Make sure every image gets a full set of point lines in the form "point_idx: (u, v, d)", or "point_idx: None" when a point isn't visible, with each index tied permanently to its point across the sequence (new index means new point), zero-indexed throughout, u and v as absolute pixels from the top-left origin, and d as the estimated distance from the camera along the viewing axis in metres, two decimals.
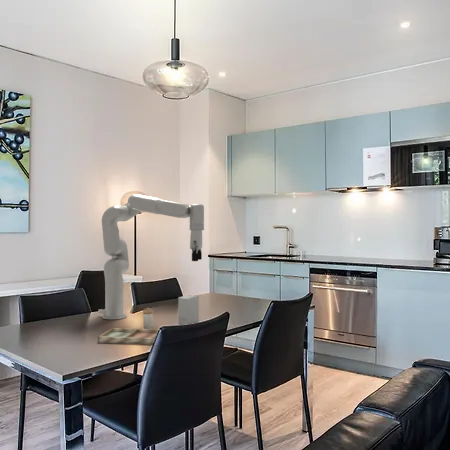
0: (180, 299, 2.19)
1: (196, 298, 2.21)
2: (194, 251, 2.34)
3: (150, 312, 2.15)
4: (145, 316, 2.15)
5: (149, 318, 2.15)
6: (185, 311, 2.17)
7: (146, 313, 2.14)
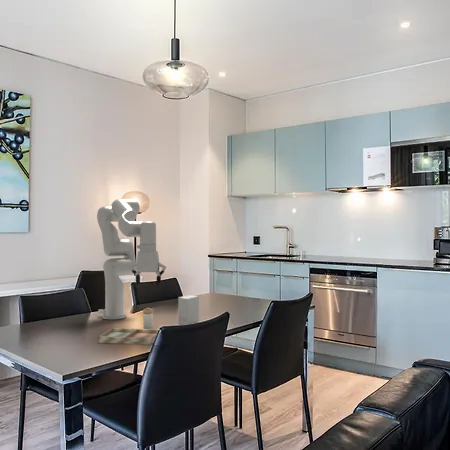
0: (180, 299, 2.19)
1: (196, 298, 2.21)
2: (162, 273, 2.15)
3: (150, 312, 2.15)
4: (145, 316, 2.15)
5: (149, 318, 2.15)
6: (185, 311, 2.17)
7: (146, 313, 2.14)
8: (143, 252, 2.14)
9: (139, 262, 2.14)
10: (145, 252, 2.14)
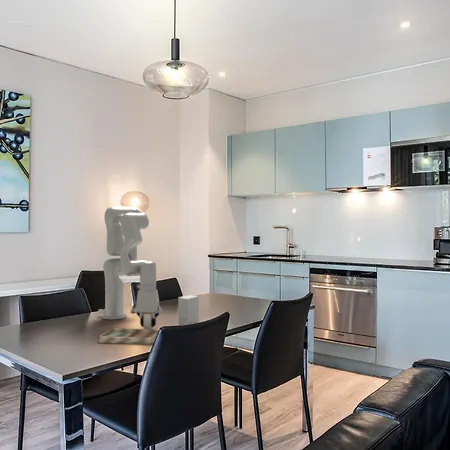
0: (180, 299, 2.19)
1: (196, 298, 2.21)
2: (157, 315, 2.16)
3: None
4: (145, 316, 2.15)
5: (149, 318, 2.15)
6: (185, 311, 2.17)
7: (146, 313, 2.14)
8: (143, 292, 2.14)
9: (139, 302, 2.14)
10: (145, 292, 2.14)
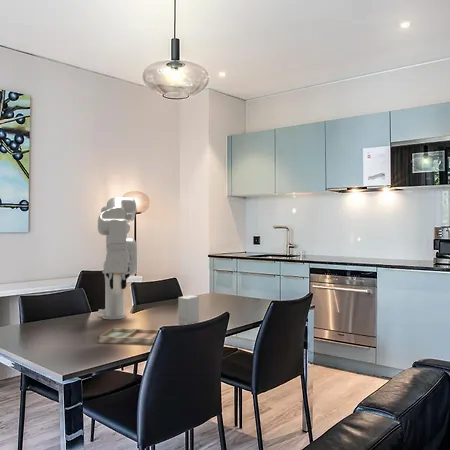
0: (180, 299, 2.19)
1: (196, 298, 2.21)
2: None
3: (120, 273, 2.01)
4: (115, 277, 2.01)
5: (119, 279, 2.01)
6: (185, 311, 2.17)
7: (116, 274, 2.01)
8: (112, 252, 2.00)
9: (108, 263, 2.01)
10: (114, 252, 2.00)
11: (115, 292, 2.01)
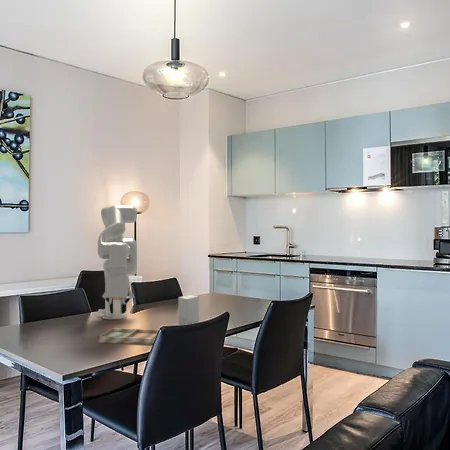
0: (180, 299, 2.19)
1: (196, 298, 2.21)
2: (128, 301, 2.02)
3: None
4: (114, 302, 2.01)
5: (119, 304, 2.01)
6: (185, 311, 2.17)
7: (116, 299, 2.00)
8: (112, 276, 2.00)
9: (108, 287, 2.00)
10: (114, 276, 2.00)
11: (115, 317, 2.01)
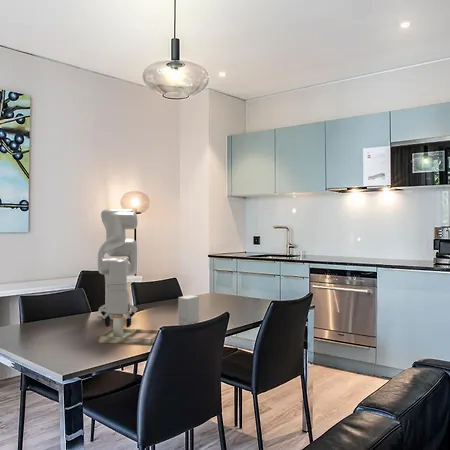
0: (180, 299, 2.19)
1: (196, 298, 2.21)
2: None
3: (120, 316, 2.01)
4: (114, 320, 2.01)
5: (119, 322, 2.01)
6: (185, 311, 2.17)
7: (116, 317, 2.01)
8: (112, 293, 2.00)
9: (108, 303, 2.01)
10: (114, 293, 2.00)
11: (115, 335, 2.01)
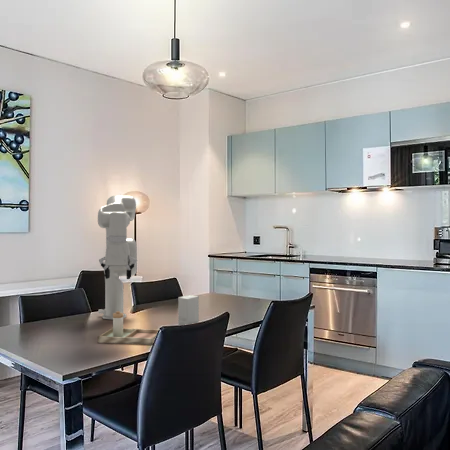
0: (180, 299, 2.19)
1: (196, 298, 2.21)
2: (133, 267, 2.03)
3: (120, 316, 2.01)
4: (115, 320, 2.01)
5: (119, 322, 2.01)
6: (185, 311, 2.17)
7: (116, 317, 2.01)
8: (112, 244, 2.01)
9: (108, 255, 2.01)
10: (114, 244, 2.01)
11: (115, 335, 2.01)
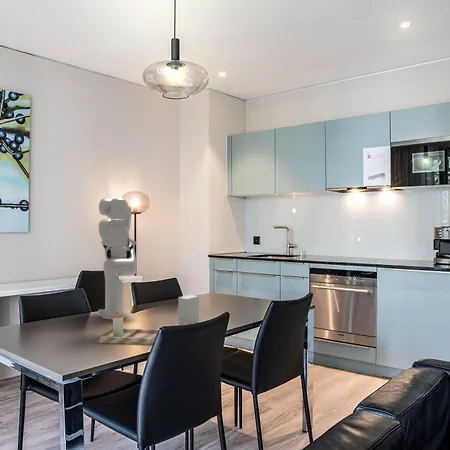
0: (180, 299, 2.19)
1: (196, 298, 2.21)
2: (132, 248, 2.25)
3: (120, 316, 2.01)
4: (114, 320, 2.01)
5: (119, 322, 2.01)
6: (185, 311, 2.17)
7: (116, 317, 2.01)
8: (113, 227, 2.23)
9: (109, 237, 2.23)
10: (115, 227, 2.23)
11: (115, 335, 2.01)
